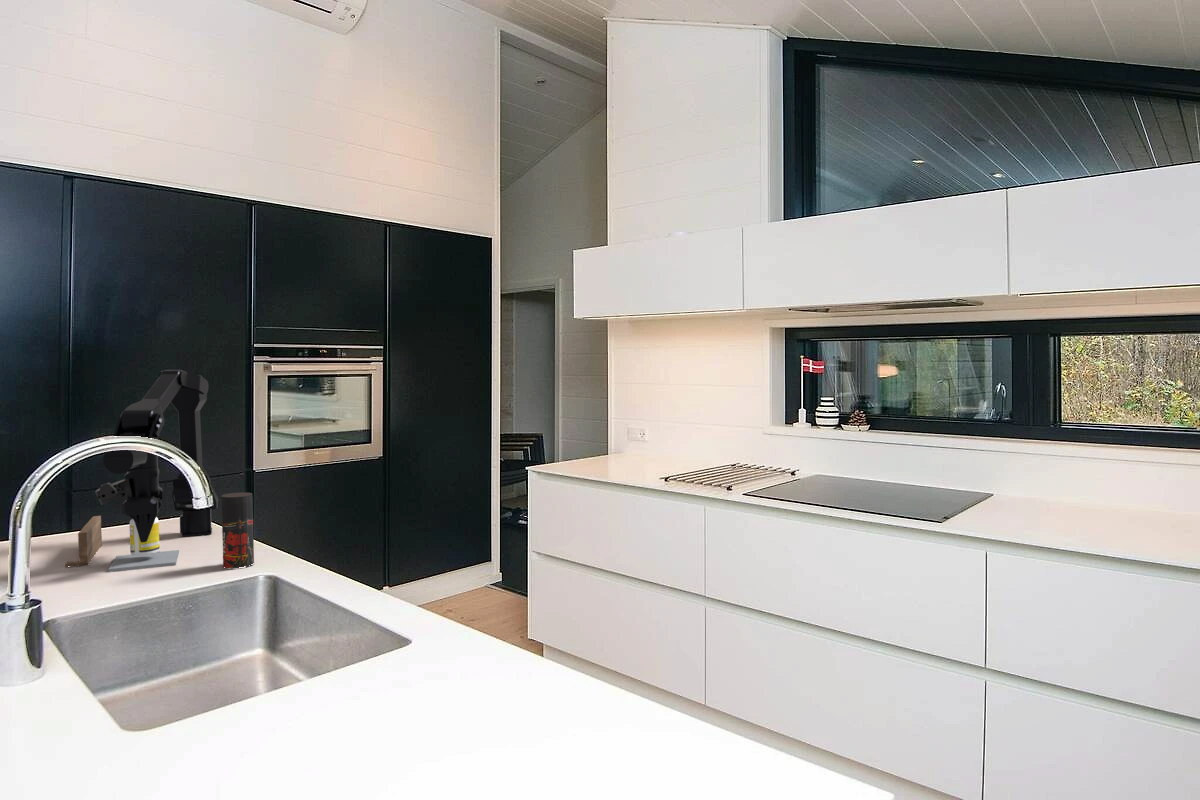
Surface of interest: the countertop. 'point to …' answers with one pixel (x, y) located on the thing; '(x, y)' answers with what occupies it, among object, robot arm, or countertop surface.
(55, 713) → the countertop surface
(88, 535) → the screen
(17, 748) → the countertop surface
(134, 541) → the supplement bottle
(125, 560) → the mat
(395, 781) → the countertop surface
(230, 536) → the deodorant
